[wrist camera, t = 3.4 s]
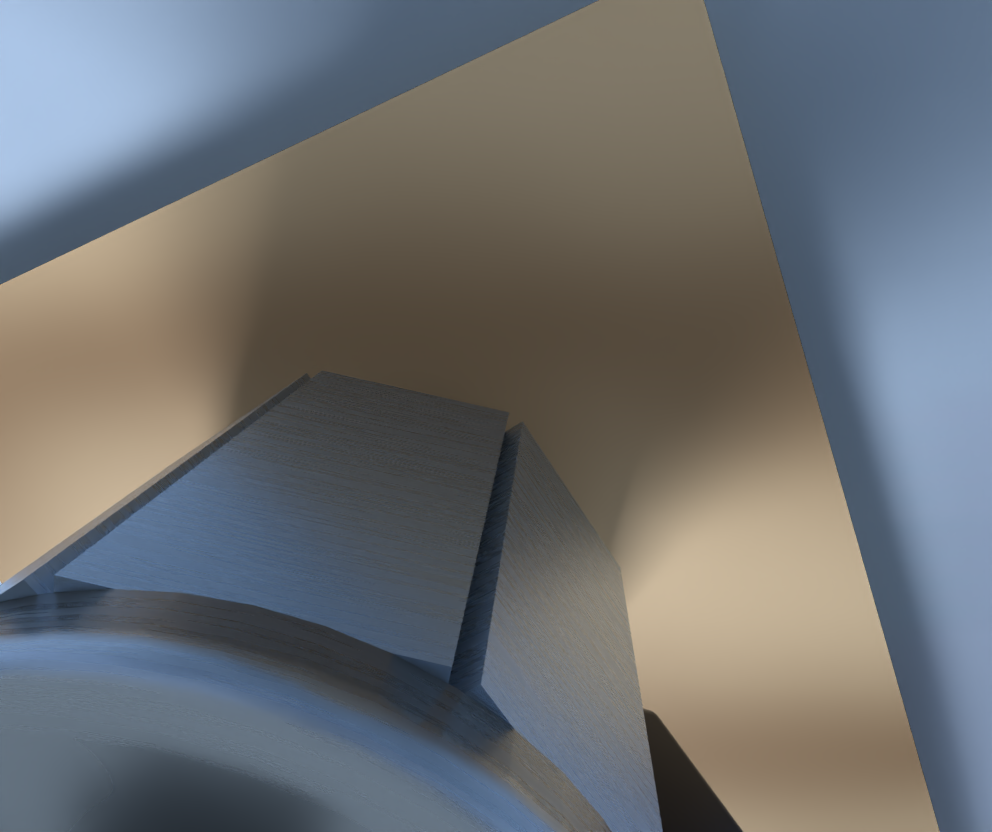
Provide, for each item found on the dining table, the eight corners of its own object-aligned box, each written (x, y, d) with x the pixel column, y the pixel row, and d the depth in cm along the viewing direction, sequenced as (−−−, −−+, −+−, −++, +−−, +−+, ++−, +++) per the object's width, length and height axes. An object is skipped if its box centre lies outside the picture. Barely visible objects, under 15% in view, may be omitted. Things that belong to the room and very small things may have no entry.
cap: (553, 827, 10) (546, 1765, 4) (144, 731, 10) (-452, 1507, 4) (674, 440, 8) (1013, 1179, 2) (162, 326, 8) (-938, 705, 2)
